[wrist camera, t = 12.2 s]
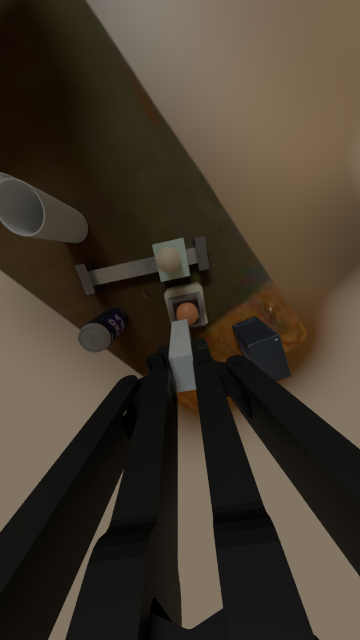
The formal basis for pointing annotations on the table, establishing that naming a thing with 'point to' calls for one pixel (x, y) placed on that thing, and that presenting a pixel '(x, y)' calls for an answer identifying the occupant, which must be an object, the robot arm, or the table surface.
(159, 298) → the table surface
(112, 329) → the beverage can
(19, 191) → the mug
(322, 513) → the robot arm
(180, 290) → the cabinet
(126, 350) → the table surface
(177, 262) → the carriage
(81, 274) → the rail
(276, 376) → the small box
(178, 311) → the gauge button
